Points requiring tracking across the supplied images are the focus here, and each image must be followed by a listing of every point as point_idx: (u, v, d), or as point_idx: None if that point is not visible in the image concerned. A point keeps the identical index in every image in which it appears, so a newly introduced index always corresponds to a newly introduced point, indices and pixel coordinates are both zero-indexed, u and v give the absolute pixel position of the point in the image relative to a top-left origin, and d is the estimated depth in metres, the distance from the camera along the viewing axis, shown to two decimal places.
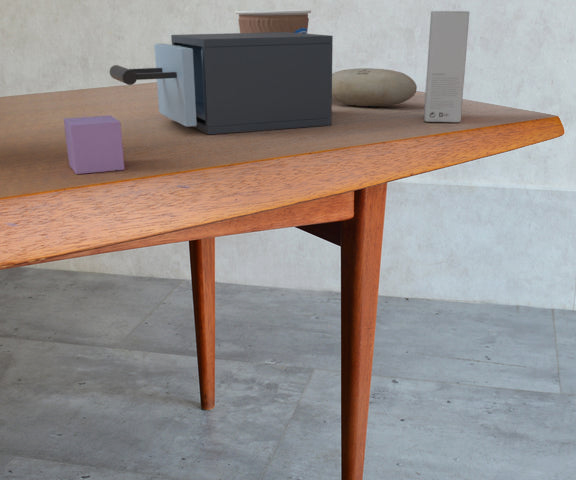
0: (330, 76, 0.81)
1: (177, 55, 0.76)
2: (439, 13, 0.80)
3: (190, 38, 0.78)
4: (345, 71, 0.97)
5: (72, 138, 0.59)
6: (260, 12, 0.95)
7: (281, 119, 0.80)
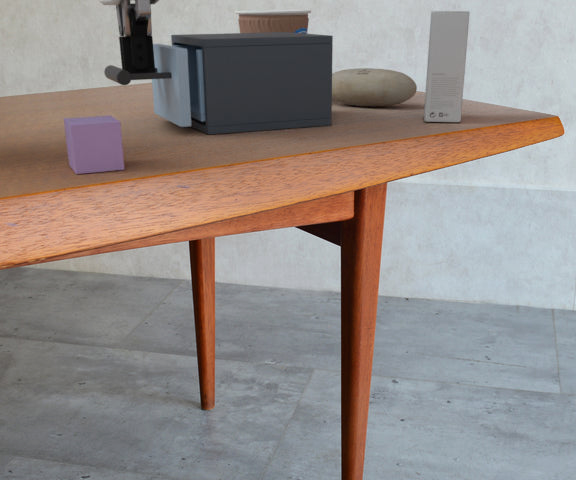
0: (330, 76, 0.81)
1: (172, 55, 0.76)
2: (439, 13, 0.80)
3: (190, 38, 0.78)
4: (345, 71, 0.97)
5: (72, 138, 0.59)
6: (260, 12, 0.95)
7: (281, 119, 0.80)
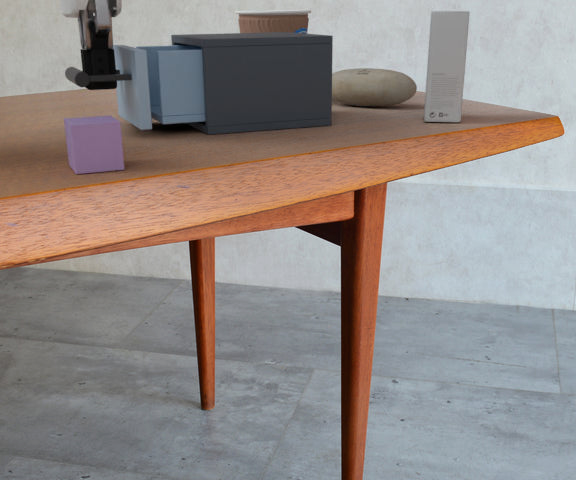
0: (330, 76, 0.81)
1: (131, 56, 0.74)
2: (439, 13, 0.80)
3: (190, 38, 0.78)
4: (345, 71, 0.97)
5: (72, 138, 0.59)
6: (260, 12, 0.95)
7: (281, 119, 0.80)
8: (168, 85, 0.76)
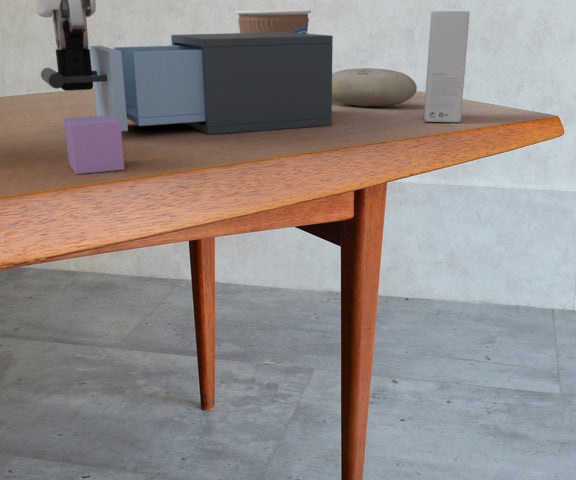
0: (330, 76, 0.81)
1: (106, 57, 0.73)
2: (439, 13, 0.80)
3: (190, 38, 0.78)
4: (345, 71, 0.97)
5: (72, 138, 0.59)
6: (260, 12, 0.95)
7: (281, 119, 0.80)
8: (144, 87, 0.75)
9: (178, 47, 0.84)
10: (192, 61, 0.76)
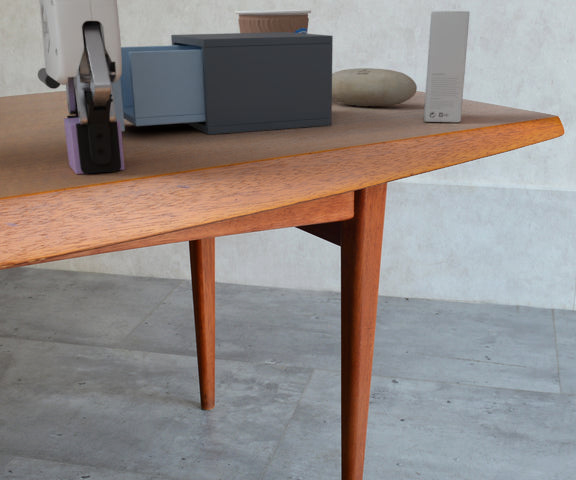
0: (330, 76, 0.81)
1: None
2: (439, 13, 0.80)
3: (190, 38, 0.78)
4: (345, 71, 0.97)
5: (72, 138, 0.59)
6: (260, 12, 0.95)
7: (281, 119, 0.80)
8: (141, 87, 0.75)
9: (175, 47, 0.84)
10: (189, 61, 0.76)
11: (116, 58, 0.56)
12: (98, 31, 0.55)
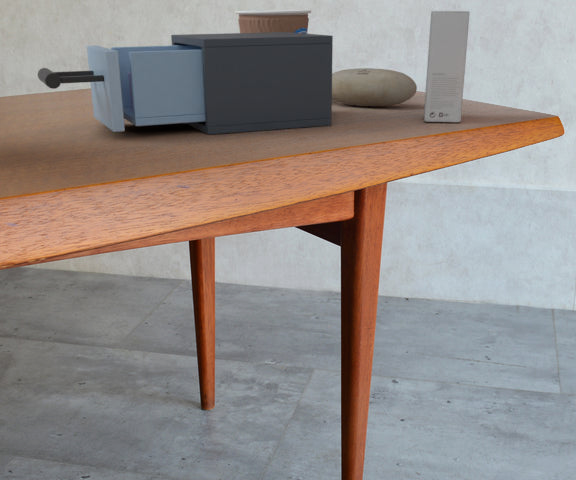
0: (330, 76, 0.81)
1: (103, 57, 0.73)
2: (439, 13, 0.80)
3: (190, 38, 0.78)
4: (345, 71, 0.97)
5: None
6: (260, 12, 0.95)
7: (281, 119, 0.80)
8: (141, 87, 0.75)
9: (175, 47, 0.84)
10: (189, 61, 0.76)
11: None
12: None
